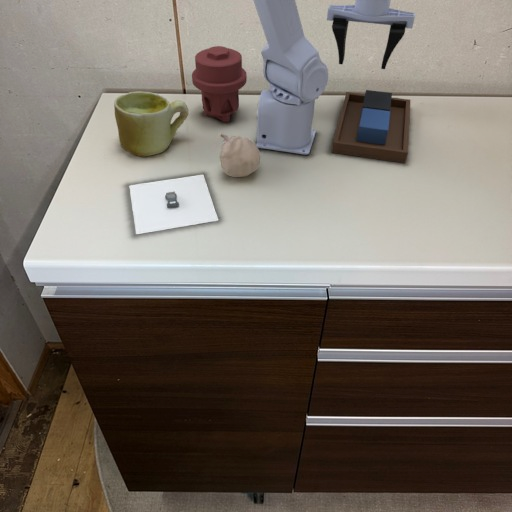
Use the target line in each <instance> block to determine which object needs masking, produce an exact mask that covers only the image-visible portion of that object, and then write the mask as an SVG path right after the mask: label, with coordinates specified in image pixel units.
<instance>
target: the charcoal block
mask: <svg viewBox="0 0 512 512" xmlns="http://www.w3.org/2000/svg"><path fill="white" fill-rule="evenodd" d="M364 94H365V98H364V103H363V108H368V109H376V110H384V111H390V107H391V98H393V93H392V92H386V91H379V90H369V89H365V93H364ZM363 108H362V110H363ZM361 115H362V113H361ZM360 120H361V119H360Z"/></svg>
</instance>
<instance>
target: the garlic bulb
mask: <svg viewBox="0 0 512 512" xmlns="http://www.w3.org/2000/svg"><path fill="white" fill-rule="evenodd" d="M219 137H221V138H222V139H223V140H222V142H223V143H222V145H221V148H220V153H219V161H220V168H221V170H222V171H223V172H224V173H225V174H226V175H227V176H229V177H232V178H239V177H243V178H245V177H248V176H250V175H251V174H252V173H254V172H256V171H257V169H258V168H259V166H260V164H261V152H260V148H258V147H257V146H256V144H257V143H255V142H254V140H252V139H250V138H247V137H242V136H239V135H236V136H231V137H228V134H227V135H226V134H223V133H221V134H220V135H219Z"/></svg>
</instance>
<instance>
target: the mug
mask: <svg viewBox="0 0 512 512" xmlns="http://www.w3.org/2000/svg"><path fill="white" fill-rule="evenodd" d="M113 107H114V119H115V122H116V126H117V131H118V139H119V140H118V141H119V144H120V147H121V148H122V149H123V150H124V151H125V152H128V153H129V154H132V155H134V156H137V157H140V158H141V157H149V156H154V155H158V154H161V153H164V151H166V150H167V149H168V148H169V146H170V145H171V142H172V141H173V139H174V137H175V135H176V133H177V132H178V129H179V128H180V127H181V126H182V125H183V123H184V122H185V121H186V120H187V118H188V116H189V110H190V109H189V107H188V104H187V103H186V102H185V101H182V100H174V101H171V102H169V100H168V98H166V97H164V95H161V94H159V93H155V92H151V91H139V90H138V91H129V92H127V93H126V94H122V95H119V96H117V97H116V98H115V100H114V106H113ZM176 113H177V114H178V113H179V116H177V117H176V118H175V119H174V121H173V122H172V119H173V117H174V116H175V115H176Z"/></svg>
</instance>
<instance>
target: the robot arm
mask: <svg viewBox="0 0 512 512" xmlns="http://www.w3.org/2000/svg"><path fill="white" fill-rule="evenodd" d="M252 1H253V4H254V7H255V9H256V12H257V16H258V18H259V21H260V24H261V28H262V30H263V32H264V36H265V39H266V44H265V45H264V47H263V48H262V50H261V51H260V53H261V57H262V62H263V63H262V65H263V67H262V74H263V77H264V79H265V81H266V82H267V83H269V89H263V90H262V91H261V93H260V95H259V99H258V105H257V116H256V117H257V118H256V119H257V121H256V122H257V125H256V128H257V129H256V131H257V132H256V143H255V144H256V146H257V147H258V149H263V150H269V151H271V150H272V151H279V152H285V153H292V154H298V155H299V154H300V155H304V156H308V155H309V154H310V152H311V149H312V146H313V143H314V140H315V136H316V133H317V131H316V130H315V129H313V123H314V112H315V104H316V103H315V101H316V100H317V99H319V97H320V96H321V95H322V94H323V93H324V91H325V89H326V88H327V85H328V82H329V69H328V67H327V64H325V63H324V62H323V61H322V59H321V57H320V53H319V51H318V50H317V49H316V47H315V46H314V45H313V44H312V43H311V42H310V41H309V40H308V38H307V37H306V36H305V33H304V30H303V25H302V21H301V17H300V14H299V9H298V6H297V2H296V0H252ZM390 6H391V0H355V3H354V4H348V5H347V4H345V5H344V4H343V5H335V4H329V6H328V8H327V14H326V21H328V22H329V21H330V22H332V25H331V29H332V33H333V36H334V39H335V42H336V46H337V53H338V65H343V64H344V61H345V55H346V40H347V34H348V29H349V28H348V27H349V23H350V22H355V23H363V24H364V23H365V24H374V25H386V26H387V25H388V26H390V27H389V31H388V37H387V42H386V46H385V50H384V53H383V57H382V62H381V66H380V69H381V70H386V67H387V64H388V62H389V59H390V57H391V56H392V54H393V52H394V50H395V49H396V47H397V46H398V44H399V43H400V42H401V40H402V39H403V37H404V36H405V33H406V29H413V27H414V24H415V23H414V22H415V18H416V13H415V12H411V11H406V10H400V9H395V8H390Z"/></svg>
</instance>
